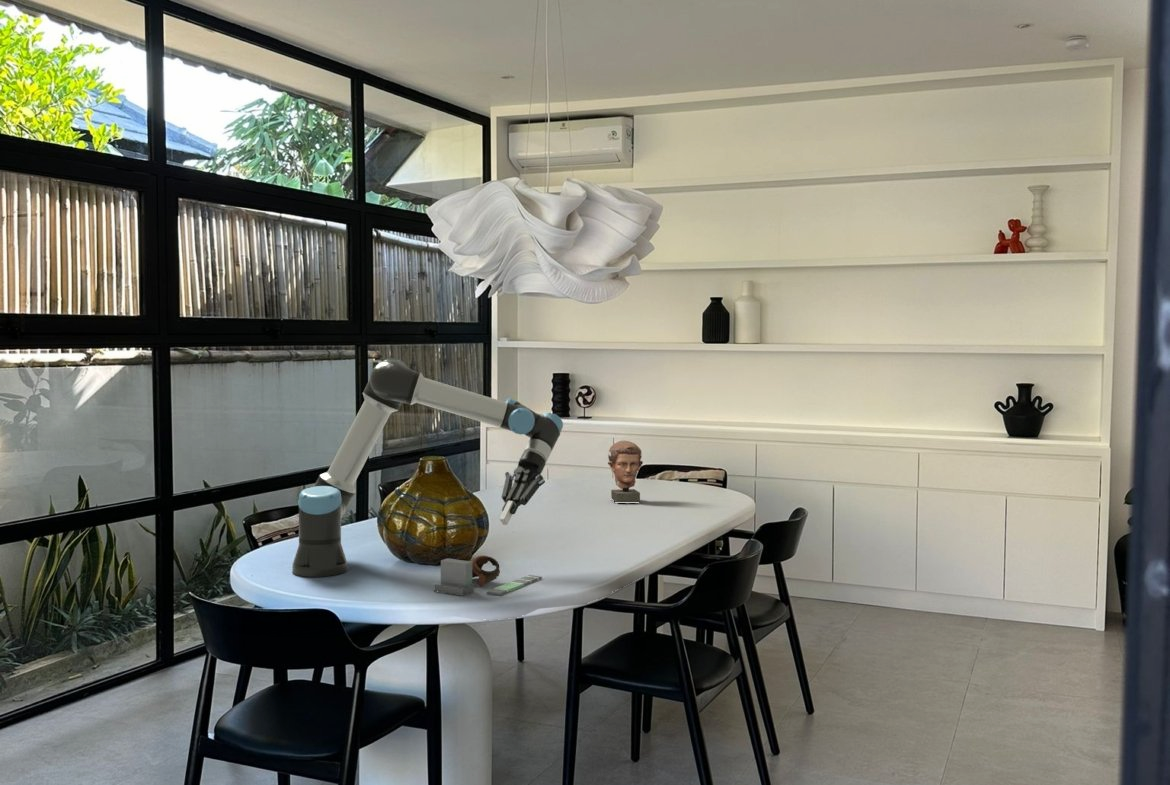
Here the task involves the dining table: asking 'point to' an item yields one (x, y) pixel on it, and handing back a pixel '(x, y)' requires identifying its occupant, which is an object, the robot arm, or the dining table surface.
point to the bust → (625, 470)
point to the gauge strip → (513, 585)
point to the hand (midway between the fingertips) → (503, 521)
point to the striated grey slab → (455, 577)
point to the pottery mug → (483, 575)
